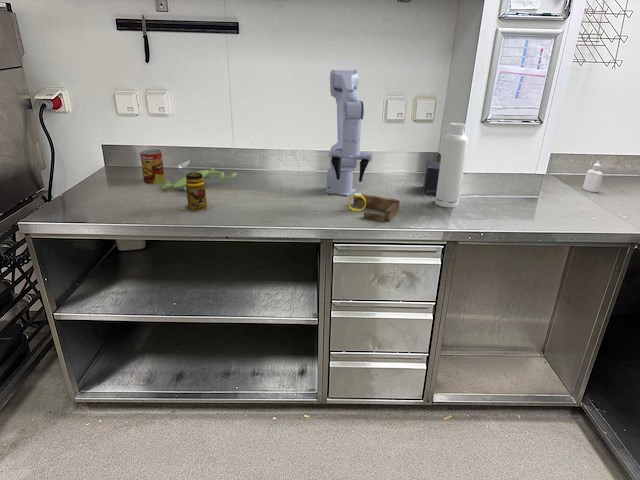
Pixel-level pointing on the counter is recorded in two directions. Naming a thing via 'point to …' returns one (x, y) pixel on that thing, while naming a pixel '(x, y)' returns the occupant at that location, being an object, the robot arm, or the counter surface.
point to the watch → (356, 196)
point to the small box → (431, 177)
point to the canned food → (152, 166)
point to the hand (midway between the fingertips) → (349, 179)
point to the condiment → (195, 193)
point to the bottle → (452, 166)
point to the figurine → (182, 182)
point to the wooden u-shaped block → (378, 207)
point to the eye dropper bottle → (593, 179)
